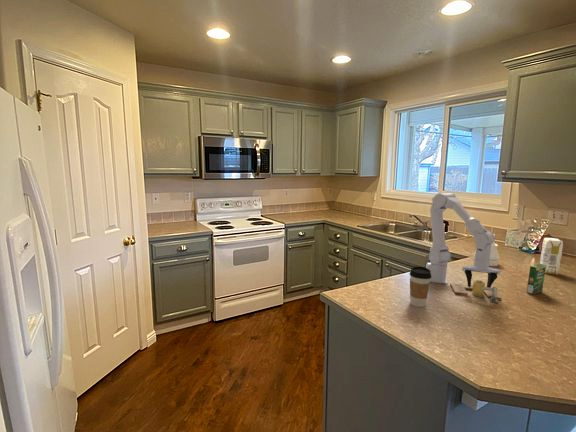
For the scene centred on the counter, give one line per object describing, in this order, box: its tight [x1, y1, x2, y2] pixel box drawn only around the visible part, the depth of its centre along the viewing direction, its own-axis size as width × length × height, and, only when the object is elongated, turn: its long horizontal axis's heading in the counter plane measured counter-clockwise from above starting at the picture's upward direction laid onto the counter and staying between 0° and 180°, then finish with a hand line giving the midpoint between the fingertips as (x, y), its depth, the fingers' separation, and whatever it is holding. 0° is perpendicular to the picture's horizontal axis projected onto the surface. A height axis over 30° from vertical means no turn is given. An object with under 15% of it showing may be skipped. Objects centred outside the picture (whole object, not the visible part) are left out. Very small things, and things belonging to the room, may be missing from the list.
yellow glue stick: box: [471, 279, 486, 297], centre depth 143 cm, size 4×4×6 cm
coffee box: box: [526, 263, 546, 295], centre depth 146 cm, size 8×3×13 cm, turn 115°
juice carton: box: [539, 237, 564, 276], centre depth 177 cm, size 8×9×19 cm
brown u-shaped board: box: [450, 282, 502, 301], centre depth 146 cm, size 18×12×1 cm, turn 73°
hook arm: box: [481, 286, 500, 304], centre depth 137 cm, size 7×3×6 cm, turn 73°
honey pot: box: [473, 233, 500, 267], centre depth 193 cm, size 13×13×18 cm
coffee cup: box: [409, 266, 432, 308], centre depth 131 cm, size 8×8×15 cm
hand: (478, 287), depth 143 cm, fingers open, 7 cm apart
